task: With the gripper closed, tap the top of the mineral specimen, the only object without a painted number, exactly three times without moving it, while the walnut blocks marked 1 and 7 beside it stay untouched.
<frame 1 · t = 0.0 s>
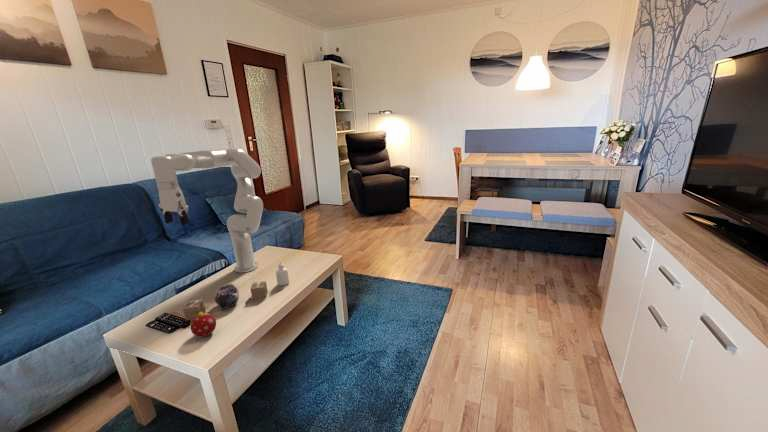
hand: (177, 223, 138), 37 cm above the table, tool pointing down, fingers open, 9 cm apart
eye dropper bottle: (283, 284, 158), on the table
walnut block 7: (196, 316, 134), on the table
mineral specimen: (228, 305, 141), on the table
christmas ornament: (205, 334, 122), on the table
walnut block 1: (260, 296, 148), on the table
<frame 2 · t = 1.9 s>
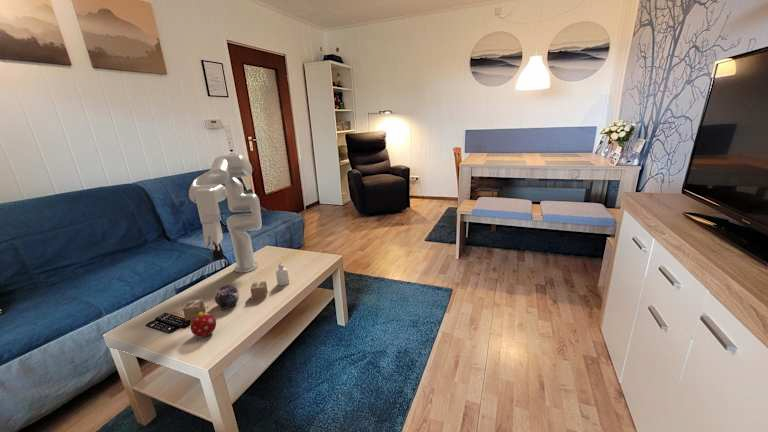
hand: (218, 258, 135), 23 cm above the table, tool pointing down, fingers closed
nothing on the table moved.
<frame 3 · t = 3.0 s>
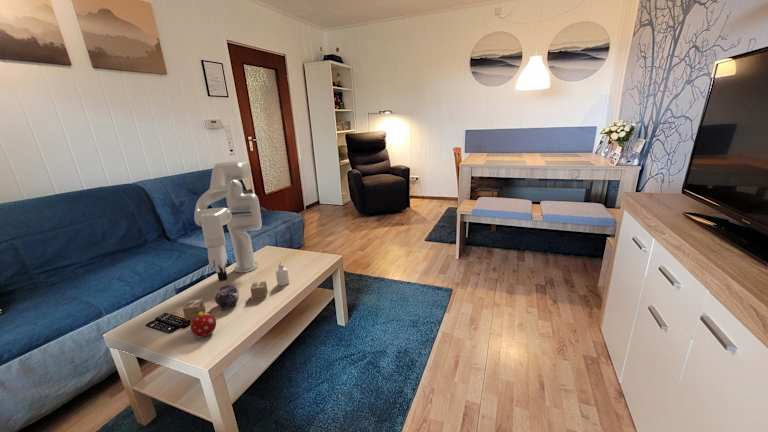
hand: (223, 280, 137), 13 cm above the table, tool pointing down, fingers closed
nothing on the table moved.
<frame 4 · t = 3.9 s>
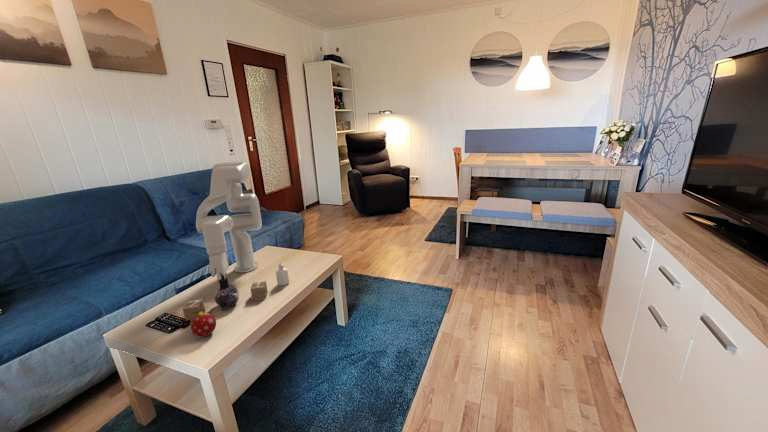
hand: (224, 287, 138), 9 cm above the table, tool pointing down, fingers closed
mineral specimen: (228, 305, 141), on the table, touching gripper
everything else where it was.
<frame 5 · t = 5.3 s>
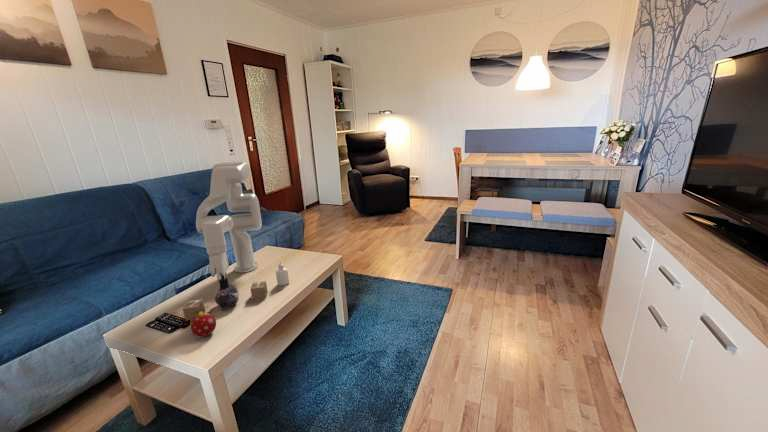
hand: (224, 287, 138), 9 cm above the table, tool pointing down, fingers closed
nothing on the table moved.
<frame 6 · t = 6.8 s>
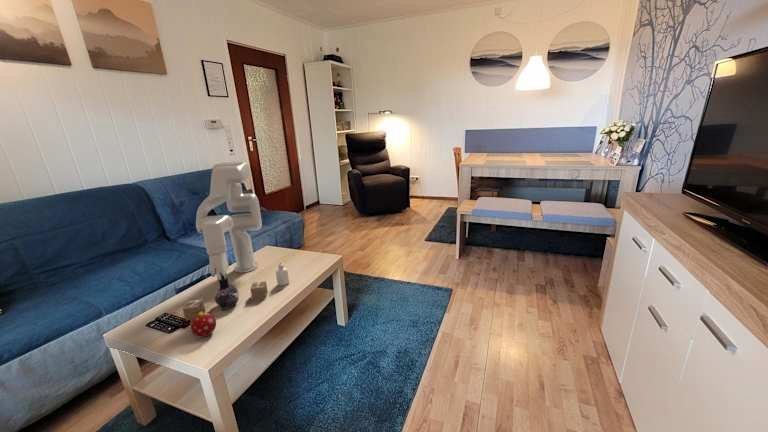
hand: (224, 287, 138), 9 cm above the table, tool pointing down, fingers closed
nothing on the table moved.
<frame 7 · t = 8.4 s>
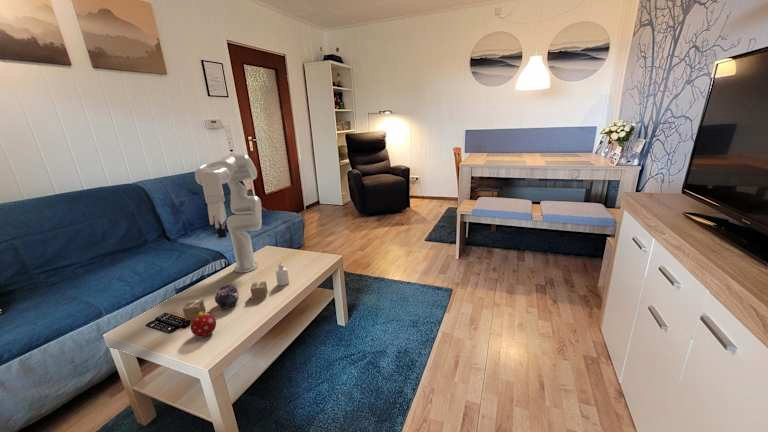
hand: (222, 237, 143), 29 cm above the table, tool pointing down, fingers closed
mineral specimen: (228, 305, 141), on the table
everything else where it was.
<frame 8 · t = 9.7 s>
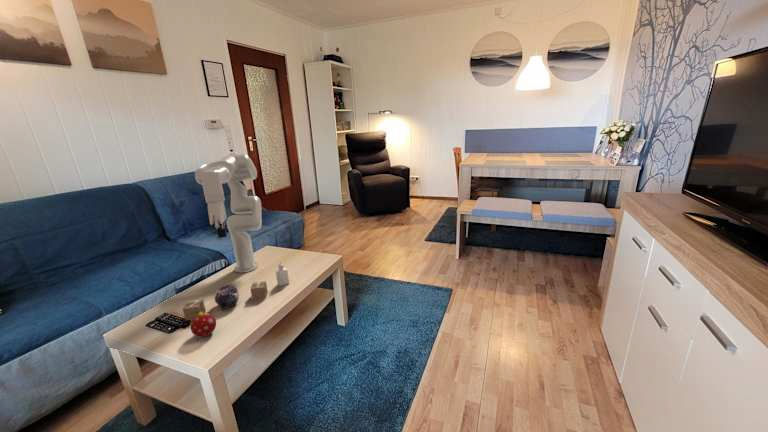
hand: (222, 236, 143), 29 cm above the table, tool pointing down, fingers closed
nothing on the table moved.
at the end: mineral specimen moved 0.3 cm from its start; walnut block 1 moved 0.1 cm from its start; walnut block 7 moved 0.1 cm from its start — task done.
